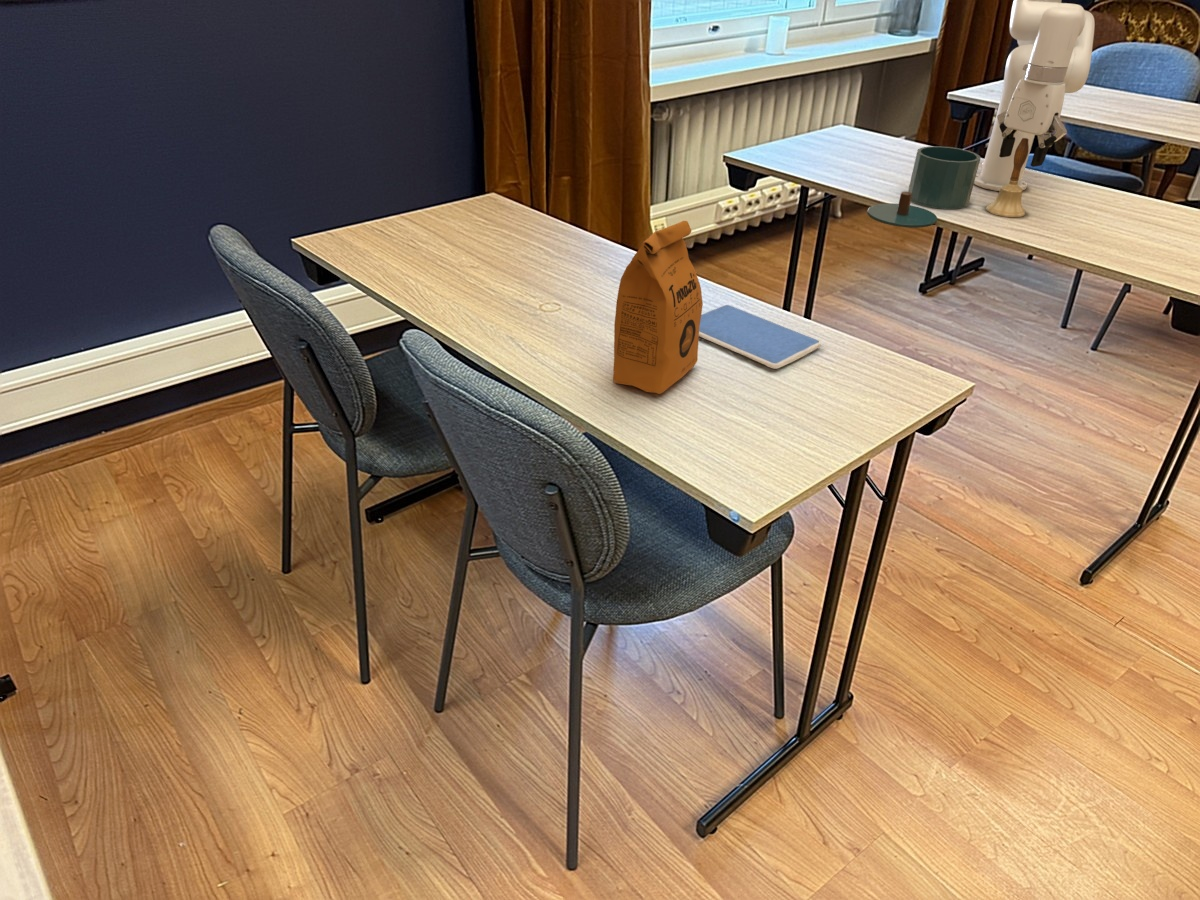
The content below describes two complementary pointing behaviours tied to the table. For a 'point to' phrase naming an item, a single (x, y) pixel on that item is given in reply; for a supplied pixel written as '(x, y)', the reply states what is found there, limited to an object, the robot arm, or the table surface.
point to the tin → (943, 177)
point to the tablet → (755, 336)
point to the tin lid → (902, 213)
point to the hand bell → (1011, 188)
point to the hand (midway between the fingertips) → (1020, 160)
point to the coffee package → (657, 313)
